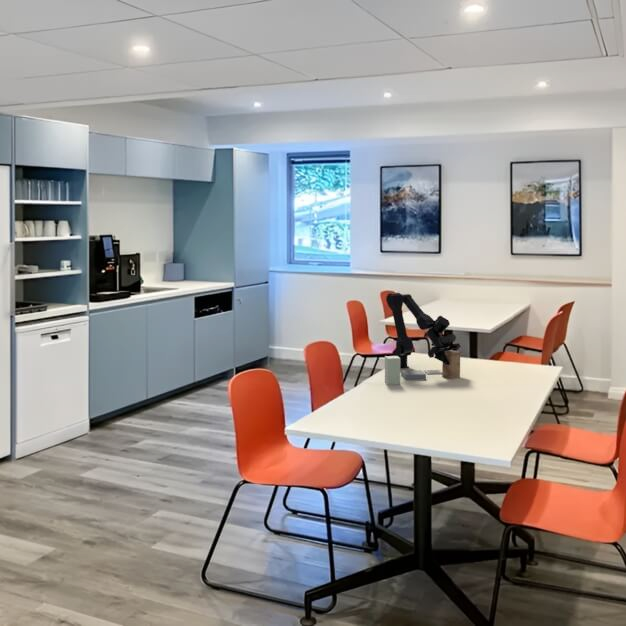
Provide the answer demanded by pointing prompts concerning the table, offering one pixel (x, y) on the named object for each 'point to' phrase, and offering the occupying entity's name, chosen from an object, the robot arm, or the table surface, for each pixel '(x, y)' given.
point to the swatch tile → (433, 371)
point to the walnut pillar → (451, 364)
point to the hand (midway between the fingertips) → (453, 363)
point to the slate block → (413, 375)
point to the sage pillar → (392, 370)
